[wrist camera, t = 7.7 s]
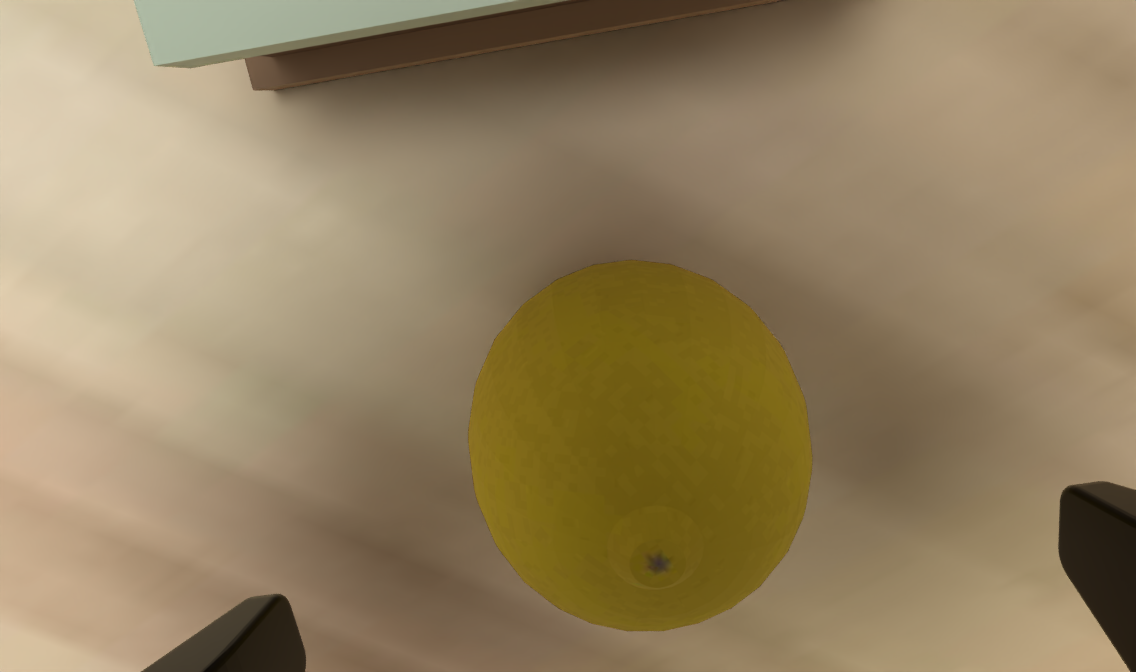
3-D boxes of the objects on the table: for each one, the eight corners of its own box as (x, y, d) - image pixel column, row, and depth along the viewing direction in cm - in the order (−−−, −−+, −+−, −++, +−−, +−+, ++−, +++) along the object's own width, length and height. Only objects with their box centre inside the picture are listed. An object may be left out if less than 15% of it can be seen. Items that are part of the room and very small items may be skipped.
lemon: (799, 312, 16) (991, 500, 9) (655, 506, 18) (714, 812, 10) (580, 174, 16) (584, 252, 8) (448, 389, 17) (346, 629, 9)
